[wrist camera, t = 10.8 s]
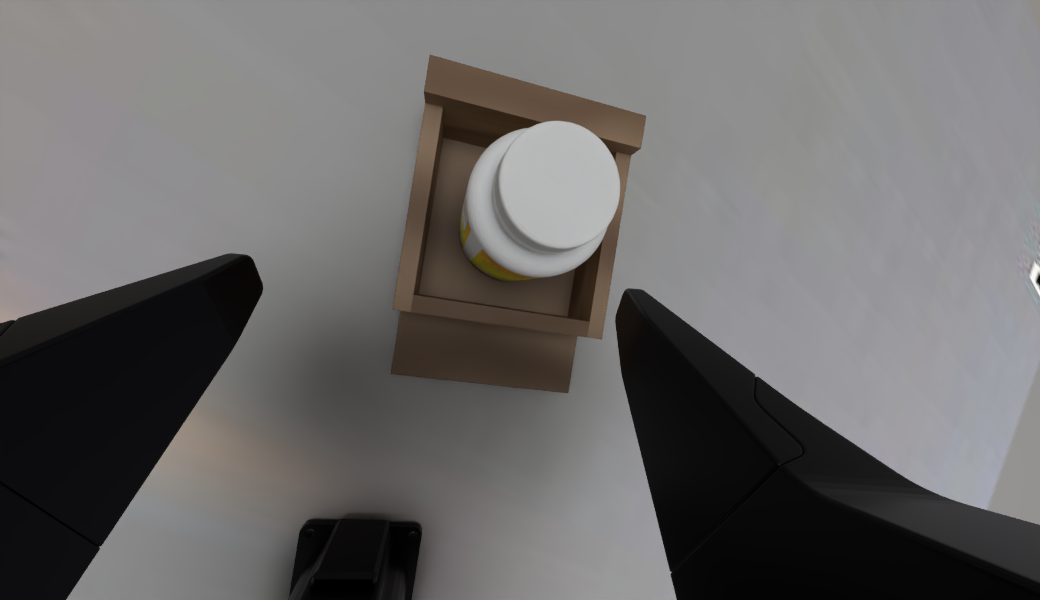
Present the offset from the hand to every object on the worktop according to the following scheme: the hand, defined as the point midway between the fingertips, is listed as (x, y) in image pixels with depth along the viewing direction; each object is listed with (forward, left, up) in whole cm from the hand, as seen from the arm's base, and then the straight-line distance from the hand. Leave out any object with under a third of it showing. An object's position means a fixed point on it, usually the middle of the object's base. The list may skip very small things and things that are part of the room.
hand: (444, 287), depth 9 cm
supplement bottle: (+4, -3, -12) cm, 13 cm away
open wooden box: (+2, -3, -13) cm, 13 cm away
